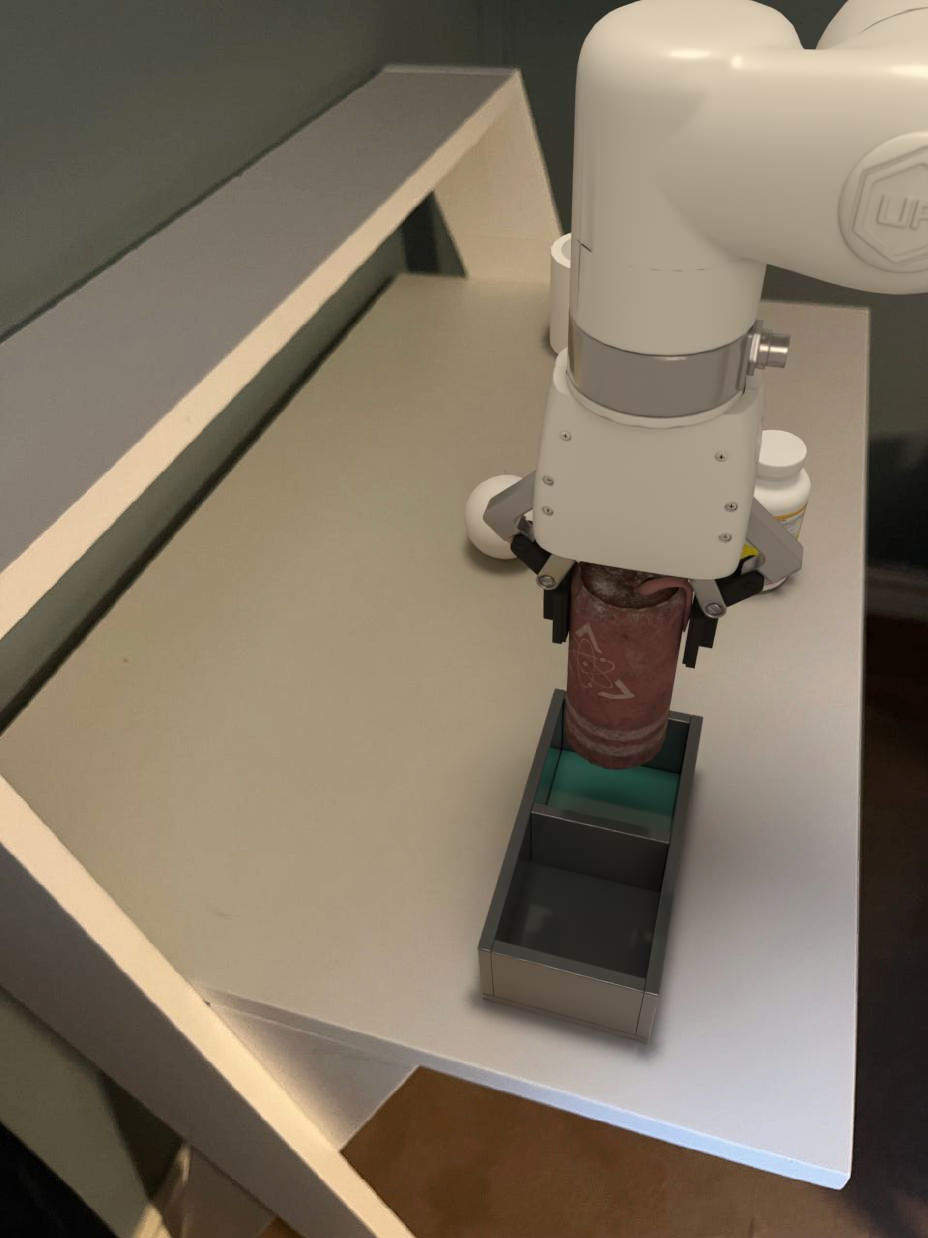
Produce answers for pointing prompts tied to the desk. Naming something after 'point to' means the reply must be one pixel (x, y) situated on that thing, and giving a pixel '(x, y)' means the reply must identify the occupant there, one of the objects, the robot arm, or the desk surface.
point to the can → (622, 661)
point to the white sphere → (475, 524)
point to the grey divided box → (590, 882)
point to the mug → (560, 292)
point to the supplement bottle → (781, 483)
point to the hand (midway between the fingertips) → (627, 635)
